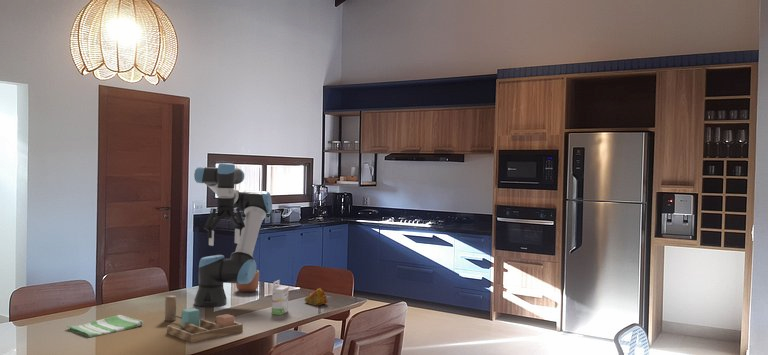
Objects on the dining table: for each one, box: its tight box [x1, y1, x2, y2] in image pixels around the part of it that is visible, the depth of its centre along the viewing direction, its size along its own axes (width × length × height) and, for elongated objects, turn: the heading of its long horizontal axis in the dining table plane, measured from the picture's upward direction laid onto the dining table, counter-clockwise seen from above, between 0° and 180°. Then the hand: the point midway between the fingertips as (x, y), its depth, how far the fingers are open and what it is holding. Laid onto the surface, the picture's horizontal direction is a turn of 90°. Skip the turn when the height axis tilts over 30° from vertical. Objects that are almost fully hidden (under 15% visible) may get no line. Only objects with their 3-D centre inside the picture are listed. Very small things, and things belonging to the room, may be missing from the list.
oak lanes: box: [166, 315, 244, 343], centre depth 235 cm, size 18×23×3 cm
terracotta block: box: [216, 313, 235, 327], centre depth 238 cm, size 5×5×6 cm
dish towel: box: [66, 314, 144, 339], centre depth 238 cm, size 18×23×3 cm
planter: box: [235, 269, 260, 293], centre depth 318 cm, size 12×12×11 cm
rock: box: [304, 287, 328, 306], centre depth 293 cm, size 11×8×10 cm
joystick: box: [164, 295, 200, 328], centre depth 247 cm, size 21×5×10 cm, turn 49°
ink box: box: [271, 279, 290, 316], centre depth 271 cm, size 9×5×15 cm, turn 168°
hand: (224, 244), depth 265 cm, fingers open, 13 cm apart
